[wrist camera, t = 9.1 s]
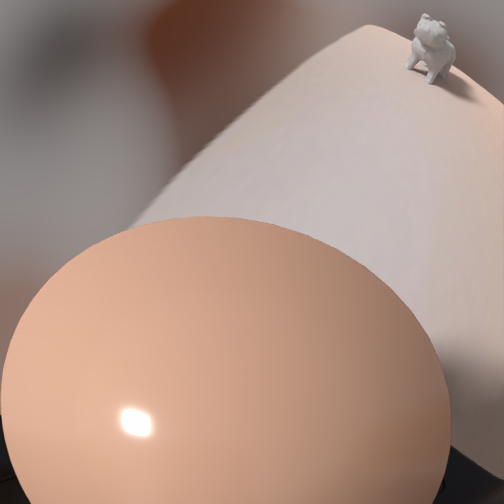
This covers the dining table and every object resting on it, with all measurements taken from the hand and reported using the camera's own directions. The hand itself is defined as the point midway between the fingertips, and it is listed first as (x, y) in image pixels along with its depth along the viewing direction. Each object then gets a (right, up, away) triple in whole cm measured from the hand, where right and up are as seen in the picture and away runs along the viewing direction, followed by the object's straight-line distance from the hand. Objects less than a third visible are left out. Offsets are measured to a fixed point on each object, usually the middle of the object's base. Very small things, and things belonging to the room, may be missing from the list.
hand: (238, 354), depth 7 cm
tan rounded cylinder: (0, -4, +6) cm, 7 cm away
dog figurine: (+26, +29, +22) cm, 45 cm away
